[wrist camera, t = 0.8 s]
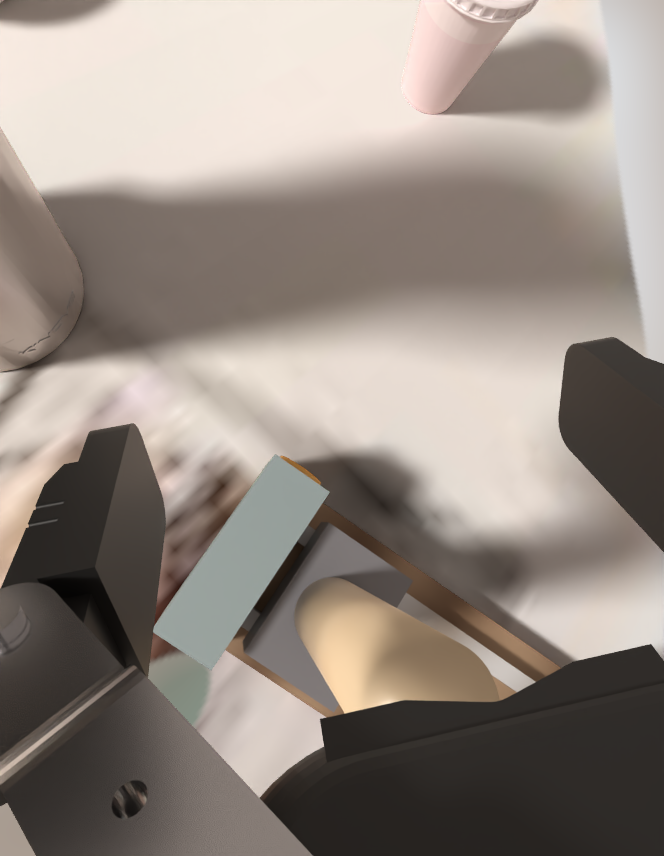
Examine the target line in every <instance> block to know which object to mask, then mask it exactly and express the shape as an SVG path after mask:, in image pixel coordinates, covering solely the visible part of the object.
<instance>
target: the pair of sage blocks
mask: <svg viewBox="0 0 664 856" xmlns="http://www.w3.org/2000/svg"><path fill="white" fill-rule="evenodd" d="M320 484H321V482H320V481H319V480H318V479H317V478H316V477H315V476H314V475H313V474H311V473H310V472H309V471H307V470H306V469H305V468H303V467H302V466H300V465H299V464H297V463H296V462H294V461H292V460H290V459H289V458H287V457H284V456H280V457H279V456H277V455H276V454H275V455H274V456H273V457H272V459H271V460H270V461H269V462H268V464H267V465H266V466H265V468H264V469H263V470H262V472H261V473H260V475H259V476H258V478H257V479H256V480H255V482H254V483H253V485H252V486H251V488H250V490H248V492H247V493H246V495H245V496H244V497H243V499H242V500H241V502H240V503H239V505H238V506H237V507H236V509H235V510H234V512H233V513H232V515H231V516H230V517H229V519H228V520H227V522H226V523H225V525H224V526H223V527H222V529H221V530H220V532H219V533H218V535H217V536H216V537H215V539H214V540H213V542H212V543H211V545H210V546H209V547H208V549H207V550H206V552H205V553H204V555H203V556H202V557H201V559H200V560H199V562H198V563H197V565H196V566H195V567H194V569H193V570H192V572H191V573H190V575H189V576H188V577H187V579H186V580H185V582H184V583H183V584H182V586H181V587H180V589H179V590H178V592H177V593H176V594H175V596H174V597H173V599H172V600H171V602H170V603H169V604H168V606H167V607H166V609H165V611H164V612H163V614H162V615H161V617H160V618H159V620H158V621H157V623H156V625H155V626H154V629H153V632H154V633H155V634H157V635H158V636H160V637H161V638H163V639H164V640H166V641H167V642H169V643H170V644H172V645H173V646H175V647H176V648H178V649H179V650H181V651H182V652H184V653H185V654H187V655H188V656H190V657H191V658H193V659H194V660H196V661H197V662H199V663H201V664H202V665H204V666H205V667H207V668H208V669H210V670H212V669H213V667H214V666H215V664H216V663H217V661H218V660H219V658H220V657H221V655H222V654H223V652H224V651H225V649H226V648H227V646H228V645H229V643H230V642H231V640H232V639H233V637H234V636H235V634H236V633H237V631H238V630H239V628H240V627H241V625H242V624H243V622H244V621H245V619H246V618H247V616H248V615H249V613H250V612H251V610H252V609H253V607H254V606H255V604H256V603H257V601H258V600H259V598H260V597H261V595H262V593H263V592H264V590H265V589H266V587H267V586H268V584H269V583H270V581H271V580H272V578H273V577H274V575H275V574H276V572H277V571H278V569H279V568H280V566H281V565H282V563H283V562H284V560H285V559H286V557H287V556H288V554H289V553H290V551H291V550H292V548H293V547H294V545H295V544H296V542H297V541H298V539H299V538H300V536H301V535H302V533H303V532H304V530H305V529H306V527H307V526H308V524H309V523H310V521H311V520H312V518H313V517H314V515H315V514H316V512H317V511H318V509H319V508H320V506H321V505H322V503H323V502H324V500H325V499H326V497H327V496H328V494H329V493H330V492H329V491H328V490H326V489H325V488H323V487H322V486H321V485H320Z"/></svg>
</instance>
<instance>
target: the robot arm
mask: <svg viewBox="0 0 664 856" xmlns="http://www.w3.org/2000/svg"><path fill="white" fill-rule="evenodd" d="M83 296H84V286H83V276H82V272H81V269H80V266H79V264H78V261H77V258H76V257H75V255H74V253H73V251H72V250H71V248H70V246H69V244H68V243H67V241H66V239H65V238H64V236H63V234H62V232H61V231H60V229H59V227H58V225H57V224H56V222H55V220H54V218H53V216H52V214H51V213H50V211H49V209H48V208H47V206H46V204H45V203H44V201H43V199H42V197H41V196H40V194H39V192H38V191H37V189H36V187H35V185H34V184H33V182H32V180H31V179H30V177H29V175H28V174H27V172H26V170H25V168H24V167H23V165H22V163H21V162H20V160H19V158H18V156H17V155H16V153H15V151H14V150H13V148H12V146H11V145H10V143H9V141H8V139H7V138H6V136H5V134H4V133H3V131H2V129H1V127H0V372H2V371H8V370H13V369H19V368H21V367H24V366H27V365H29V364H32V363H34V362H37V361H39V360H40V359H42V358H43V357H45V356H46V355H48V354H50V353H51V352H53V351H54V350H55V349H56V348H57V347H58V346H59V345H60V344H61V343H62V342H63V341H64V340H65V339H66V338H67V336H68V335H69V333H70V332H71V330H72V329H73V327H74V326H75V324H76V322H77V319H78V317H79V314H80V312H81V309H82V303H83ZM559 428H560V432H561V436H562V438H563V441H564V443H565V444H566V446H567V447H568V449H569V450H570V451H571V452H572V453H573V454H574V455H575V456H576V457H577V458H578V460H579V461H580V462H581V463H582V464H583V465H584V466H585V467H586V468H587V469H588V470H589V471H590V473H591V474H592V475H593V476H594V477H595V478H596V479H597V480H598V481H599V482H600V483H601V485H602V486H603V487H604V488H605V489H606V490H607V491H608V492H609V493H610V494H611V495H612V496H613V498H614V499H615V500H616V501H617V502H618V503H619V504H620V505H621V506H622V507H623V508H624V510H625V511H626V512H627V513H628V514H629V515H630V516H631V517H632V518H633V519H634V520H635V521H636V523H637V524H638V525H639V526H640V527H641V528H642V529H643V530H644V531H645V532H646V533H647V535H648V536H649V537H650V538H651V539H652V540H653V541H654V542H655V543H656V544H657V545H658V546H659V548H660V549H661V550H662V551H663V552H664V364H662V363H659V362H657V361H654V360H651V359H648V358H645V357H644V356H642V355H641V354H639V353H638V352H636V351H635V350H633V349H632V348H630V347H629V346H627V345H626V344H624V343H623V342H622V341H620V340H619V339H617V338H614V337H610V338H604V339H599V340H593V341H588V342H582V343H577V344H573V345H571V346H570V347H569V348H568V350H567V352H566V356H565V362H564V371H563V380H562V390H561V399H560V408H559ZM28 524H29V528H26V530H25V532H24V535H23V537H22V539H21V542H20V544H19V546H18V549H17V551H16V554H15V556H14V558H13V561H12V563H11V566H10V568H9V570H8V573H7V575H6V577H5V580H4V582H3V585H2V587H1V589H0V806H2V805H4V804H5V803H8V805H9V807H10V808H11V810H12V812H13V814H14V816H15V818H16V820H17V821H18V823H19V825H20V827H21V829H22V831H23V833H24V834H25V836H26V838H27V840H28V842H29V844H30V846H31V847H32V849H33V851H34V853H35V855H36V856H664V661H663V659H662V658H661V657H660V655H659V654H658V653H657V651H656V650H655V649H654V647H653V646H652V645H651V644H650V645H645V646H641V647H636V648H632V649H628V650H623V651H619V652H614V653H610V654H606V655H601V656H597V657H592V658H588V659H583V660H579V661H575V662H572V663H570V664H568V665H566V666H564V667H562V668H561V669H559V670H557V671H555V672H553V673H551V674H550V675H548V676H546V677H544V678H542V679H540V680H539V681H537V682H535V683H533V684H531V685H529V686H528V687H526V688H524V689H522V690H520V691H518V692H517V693H515V694H513V695H511V696H509V697H507V698H505V699H503V700H500V701H496V702H466V701H423V700H402V701H398V702H393V703H389V704H385V705H380V706H376V707H371V708H367V709H363V710H358V711H354V712H349V713H345V714H340V715H336V716H332V717H327V718H323V719H320V722H321V729H322V735H323V741H324V747H322V748H321V749H319V750H317V751H315V752H313V753H312V754H310V755H308V756H306V757H305V758H304V759H302V760H301V761H299V762H298V763H297V764H295V765H294V766H292V767H291V768H289V769H288V770H287V771H286V772H285V773H284V774H283V775H282V776H280V777H279V778H278V779H277V780H276V781H275V782H274V783H273V784H272V785H271V786H270V787H269V788H268V789H267V790H266V791H265V792H264V794H263V795H262V796H261V797H260V798H259V797H258V796H257V795H256V794H255V793H254V792H253V791H252V790H251V789H250V787H249V786H248V785H247V784H246V783H245V782H244V781H243V780H242V779H241V778H240V777H239V776H238V775H237V773H236V772H235V771H234V770H233V769H232V768H231V767H230V766H229V765H228V764H227V763H226V762H225V761H224V759H223V758H222V757H221V756H220V755H219V754H218V753H217V752H216V751H215V750H214V749H213V748H212V747H211V745H210V744H209V743H208V742H207V741H206V740H205V739H204V738H203V737H202V736H201V735H200V734H199V733H198V731H197V730H196V729H195V728H194V727H193V726H192V725H191V724H190V723H189V722H188V721H187V720H186V719H185V717H183V715H182V714H181V713H180V712H179V711H178V710H177V709H176V708H175V707H174V706H173V705H172V703H171V702H170V701H168V699H167V698H166V697H165V696H164V695H163V694H162V693H161V692H160V691H159V690H158V689H157V687H156V686H155V685H154V684H153V683H152V682H151V681H150V680H149V679H148V672H149V663H150V654H151V646H152V637H153V629H154V620H155V612H156V603H157V594H158V586H159V577H160V569H161V560H162V552H163V543H164V534H165V525H166V518H165V508H164V502H163V498H162V494H161V491H160V488H159V485H158V482H157V479H156V476H155V473H154V471H153V468H152V465H151V462H150V459H149V456H148V453H147V451H146V448H145V445H144V442H143V439H142V436H141V434H140V431H139V429H138V428H137V426H136V425H135V424H127V425H122V426H116V427H111V428H105V429H100V430H94V431H90V432H89V434H88V436H87V439H86V442H85V445H84V447H83V450H82V453H81V456H80V459H79V461H78V462H74V463H68V464H64V465H63V466H62V467H61V468H60V469H59V470H58V471H57V472H56V473H55V474H54V475H53V476H52V477H51V478H50V479H49V480H48V481H47V483H46V484H45V485H44V487H43V489H42V492H41V494H40V496H39V499H38V501H37V504H36V510H34V511H33V513H32V515H31V518H30V520H29V523H28Z"/></svg>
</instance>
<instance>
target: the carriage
mask: <svg viewBox="0 0 664 856" xmlns="http://www.w3.org/2000/svg"><path fill="white" fill-rule="evenodd" d="M412 582H413V580H411V579H410V578H409V577H407V576H406V575H404V574H403V573H401V572H400V571H398V570H397V569H396V568H394V567H393V566H391V565H390V564H388V563H387V562H385V561H384V560H382V559H381V558H380V557H378V556H377V555H375V554H374V553H372V552H371V551H369V550H368V549H367V548H365V547H364V546H362V545H361V544H359V543H358V542H356V541H355V540H354V539H352V538H351V537H349V536H348V535H346V534H345V533H343V532H342V531H341V530H339V529H338V528H336V527H335V526H333V525H332V524H330V523H328V522H321V523H320V524H319V526H318V527H317V529H316V530H315V532H314V533H313V535H312V536H311V538H310V540H309V541H308V543H307V544H306V546H305V547H304V549H303V550H302V552H301V553H300V555H299V556H298V558H297V559H296V561H295V562H294V564H293V565H292V567H291V568H290V570H289V571H288V573H287V574H286V576H285V577H284V579H283V580H282V582H281V583H280V585H279V587H278V588H277V590H276V591H275V593H274V594H273V596H272V597H271V599H270V600H269V602H268V603H267V605H266V606H265V608H264V609H263V611H262V612H261V614H260V615H259V617H258V618H257V620H256V621H255V623H254V624H253V626H252V627H251V629H250V631H249V632H248V634H247V635H246V637H245V638H244V640H243V641H242V642H243V650H244V653H245V654H247V655H248V656H250V657H251V658H253V659H254V660H256V661H257V662H259V663H260V664H262V665H263V666H265V667H266V668H268V669H269V670H271V671H272V672H274V673H275V674H277V675H278V676H280V677H281V678H283V679H284V680H286V681H287V682H289V683H290V684H292V685H293V686H295V687H296V688H298V689H299V690H301V691H302V692H304V693H305V694H307V695H308V696H310V697H311V698H313V699H314V700H316V701H317V702H319V703H320V704H322V705H323V706H325V707H326V708H328V709H329V710H331V711H332V712H334V711H335V710H336V708H337V707H338V705H340V706H341V708H342V710H343V711H344V713H349V712H354V711H358V710H363V709H367V708H371V707H376V706H380V705H385V704H389V703H393V702H398V701H402V700H423V701H466V702H496V701H500V700H499V694H498V690H497V687H496V684H495V681H494V679H493V677H492V675H491V673H490V671H489V669H488V668H487V666H486V665H485V664H484V662H483V661H482V660H481V659H480V658H479V657H478V656H477V655H476V654H475V653H474V652H473V651H471V650H470V649H469V648H467V647H465V646H464V645H462V644H460V643H459V642H457V641H455V640H453V639H451V638H450V637H448V636H446V635H444V634H442V633H441V632H439V631H437V630H435V629H433V628H432V627H430V626H428V625H426V624H424V623H423V622H421V621H419V620H417V619H415V618H414V617H412V616H410V615H408V614H406V613H405V612H403V611H401V610H399V609H397V607H398V605H399V604H400V602H401V600H402V599H403V597H404V595H405V594H406V592H407V590H408V589H409V587H410V585H411V584H412Z"/></svg>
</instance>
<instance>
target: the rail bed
mask: <svg viewBox="0 0 664 856" xmlns="http://www.w3.org/2000/svg"><path fill="white" fill-rule="evenodd" d="M249 490H250V489H249ZM321 522H328V523H330V524H332V525H333V526H335V527H336V528H338V529H339V530H341V531H342V532H343V533H345V534H346V535H348V536H349V537H351V538H352V539H354V540H355V541H356V542H358V543H359V544H361V545H362V546H364V547H365V548H367V549H368V550H369V551H371V552H372V553H374V554H375V555H377V556H378V557H380V558H381V559H382V560H384V561H385V562H387V563H388V564H390V565H391V566H393V567H394V568H396V569H397V570H398V571H400V572H401V573H403V574H404V575H406V576H407V577H409V578H410V579H411V580H413V582H412V584H411V585H410V587H409V589H408V590H407V592H406V594H405V595H404V597H403V599H402V600H401V602H400V604H399V605H398V607H397V609H399V610H401V611H403V612H405V613H406V614H408V615H410V616H412V617H414V618H415V619H417V620H419V621H421V622H423V623H424V624H426V625H428V626H430V627H432V628H433V629H435V630H437V631H439V632H441V633H442V634H444V635H446V636H448V637H450V638H451V639H453V640H455V641H457V642H459V643H460V644H462V645H464V646H465V647H467V648H469V649H470V650H471V651H473V652H474V653H475V654H476V655H477V656H478V657H479V658H480V659H481V660H482V661H483V662H484V664H485V665H486V666H487V668H488V669H489V671H490V673H491V675H492V677H493V679H494V681H495V684H496V687H497V690H498V694H499V700H503V699H505V698H507V697H509V696H511V695H513V694H515V693H517V692H518V691H520V690H522V689H524V688H526V687H528V686H529V685H531V684H533V683H535V682H537V681H539V680H540V679H542V678H544V677H546V676H548V675H550V674H551V673H553V672H555V671H557V670H559V669H561V667H559V666H558V665H556V664H555V663H553V662H552V661H550V660H549V659H548V658H546V657H545V656H543V655H542V654H540V653H539V652H537V651H536V650H535V649H533V648H532V647H530V646H529V645H527V644H526V643H524V642H523V641H522V640H520V639H519V638H517V637H516V636H514V635H513V634H511V633H510V632H509V631H507V630H506V629H504V628H503V627H501V626H500V625H498V624H497V623H496V622H494V621H493V620H491V619H490V618H488V617H487V616H485V615H484V614H483V613H481V612H480V611H478V610H477V609H475V608H474V607H473V606H471V605H470V604H468V603H467V602H465V601H464V600H462V599H461V598H460V597H458V596H457V595H455V594H454V593H452V592H451V591H449V590H448V589H447V588H445V587H444V586H442V585H441V584H439V583H438V582H436V581H435V580H434V579H432V578H431V577H429V576H428V575H426V574H425V573H423V572H422V571H421V570H419V569H418V568H416V567H415V566H413V565H412V564H410V563H409V562H408V561H406V560H405V559H403V558H402V557H400V556H399V555H397V554H396V553H395V552H393V551H392V550H390V549H389V548H387V547H386V546H384V545H383V544H382V543H380V542H379V541H377V540H376V539H374V538H373V537H371V536H370V535H369V534H367V533H366V532H364V531H363V530H361V529H360V528H358V527H357V526H356V525H354V524H353V523H351V522H350V521H348V520H347V519H345V518H344V517H343V516H341V515H340V514H338V513H337V512H335V511H334V510H332V509H331V508H330V507H328V506H327V505H325V504H324V503H322V505H321V506H320V508H319V509H318V511H317V512H316V514H315V515H314V517H313V518H312V520H311V521H310V523H309V524H308V526H307V527H306V529H305V530H304V532H303V533H302V535H301V536H300V538H299V539H298V541H297V542H296V544H295V545H294V547H293V548H292V550H291V551H290V553H289V554H288V556H287V557H286V559H285V560H284V562H283V563H282V565H281V566H280V568H279V569H278V571H277V572H276V574H275V575H274V577H273V578H272V580H271V581H270V583H269V584H268V586H267V587H266V589H265V590H264V592H263V593H262V595H261V597H260V598H259V600H258V601H257V603H256V604H255V606H254V607H253V609H252V610H251V612H250V613H249V615H248V616H247V618H246V619H245V621H244V622H243V624H242V625H241V627H240V628H239V630H238V631H237V633H236V634H235V636H234V637H233V639H232V640H231V642H230V643H229V645H228V646H227V648H226V649H225V650H226V651H228V652H229V653H231V654H232V655H234V656H235V657H237V658H238V659H240V660H241V661H243V662H244V663H246V664H247V665H249V666H250V667H252V668H253V669H255V670H256V671H258V672H259V673H261V674H262V675H264V676H265V677H267V678H268V679H270V680H271V681H273V682H274V683H276V684H277V685H279V686H280V687H282V688H283V689H285V690H286V691H288V692H289V693H291V694H292V695H294V696H295V697H297V698H298V699H300V700H301V701H303V702H304V703H306V704H307V705H309V706H310V707H312V708H313V709H315V710H316V711H318V712H320V713H321V714H323V715H324V716H326V717H332V716H336V715H340V714H345V713H344V711H343V710H342V708H341V706H340V705H338V707H337V708H336V710H335V711H334V712H332V711H331V710H329V709H328V708H326V707H325V706H323V705H322V704H320V703H319V702H317V701H316V700H314V699H313V698H311V697H310V696H308V695H307V694H305V693H304V692H302V691H301V690H299V689H298V688H296V687H295V686H293V685H292V684H290V683H289V682H287V681H286V680H284V679H283V678H281V677H280V676H278V675H277V674H275V673H274V672H272V671H271V670H269V669H268V668H266V667H265V666H263V665H262V664H260V663H259V662H257V661H256V660H254V659H253V658H251V657H250V656H248V655H247V654H245V653H244V650H243V642H242V641H243V640H244V638H245V637H246V635H247V634H248V632H249V631H250V629H251V627H252V626H253V624H254V623H255V621H256V620H257V618H258V617H259V615H260V614H261V612H262V611H263V609H264V608H265V606H266V605H267V603H268V602H269V600H270V599H271V597H272V596H273V594H274V593H275V591H276V590H277V588H278V587H279V585H280V583H281V582H282V580H283V579H284V577H285V576H286V574H287V573H288V571H289V570H290V568H291V567H292V565H293V564H294V562H295V561H296V559H297V558H298V556H299V555H300V553H301V552H302V550H303V549H304V547H305V546H306V544H307V543H308V541H309V540H310V538H311V536H312V535H313V533H314V532H315V530H316V529H317V527H318V526H319V524H320V523H321Z"/></svg>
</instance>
